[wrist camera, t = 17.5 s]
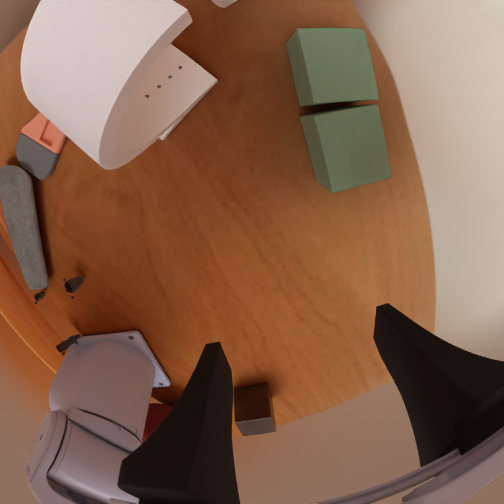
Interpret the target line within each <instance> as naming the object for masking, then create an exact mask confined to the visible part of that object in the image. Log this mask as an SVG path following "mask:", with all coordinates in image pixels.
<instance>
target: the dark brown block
mask: <svg viewBox="0 0 504 504" xmlns="http://www.w3.org/2000/svg"><path fill="white" fill-rule="evenodd" d="M234 412H235V423H236V425H237V427H238V428H239V430H240V432H241V433H242V435H243V436H249V435H256V434H264V433H270V432H276V426H275V418H274V411H273V403H272V398H271V395H270V391H269V388H268V385H267V383H263V384H257V385H251V386H244V387H238V388H234Z"/></svg>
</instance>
